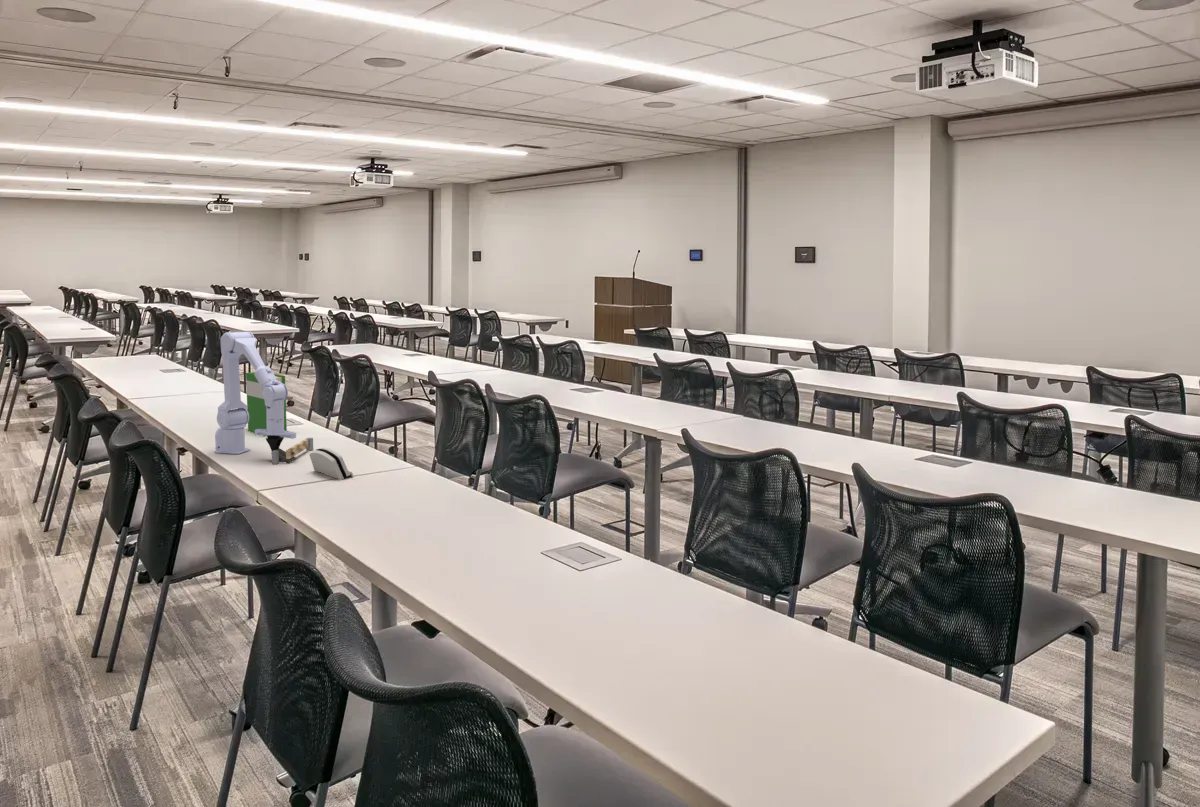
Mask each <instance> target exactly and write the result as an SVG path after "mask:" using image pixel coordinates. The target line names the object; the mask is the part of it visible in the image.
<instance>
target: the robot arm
mask: <svg viewBox="0 0 1200 807" xmlns="http://www.w3.org/2000/svg"><path fill="white" fill-rule="evenodd" d="M219 339H220V352H221V355H222V356H221V357H222V371H223V372H222V374H223V390H224V392H223V393H224V401H223V402H222V403H221V404H220V405H219V406H218V407H217V414H216V422H217V424H218V426H219V427H218V428H216V430H215V435H214V437H215V440H214V441H215V444H214V445H215V450H214V453H217V454H231V455H233V454H234V455H239V454H243V453H246V452H248V451H250V450H251V448H248V447H246V437H245V436H246V435H245V428H246V427H247V425H248V422H249V413H248V410H247V403H245V402H243V401H242V400H241V399H242V397H241V382H240V381H241V378H240V375H241V374H240V361H239V358H240V357H241V356H242V355H244V356H245V358H246V360H248V362H249V364H250V365H251V366H252V368H253V369H254V370H255V371H254V372H255V377H256V379H257V380H258V382H259V384H260V385H261V387H262V389H263V392H262V395H263V398H264V400H265V406H266V422H267V429H256V430H255V433H254V435H255V436H262V435H263V436H262V437H265V436H268V437H266V438H265V441H266V442H267V444H268V445H269V448H270V451H271V452H272V451H274V450H276V449H279V448H280V447H281V444H282V443H283V440H284V439H285V438H287V439H291V440H294V439H297V432H295V431H288V430H287V431H285V430H284V400H285V399H286V400H287V397H288V395H289V391H288V388H287V385H286V383H285V384H283V383H281V382H280V381H278V380H277V378H276V377H275V375H274V374H275V373H274V371H273V370H272V369H271V367H270V366H267V365H265V363H264V361H263V359H262V357H261V355H260V353H259V351H258V349H257V347H256V346H257V339H256V338H255V335H254V334H253V332H252V331H236V332H235V331H234V332H224V333H223V334H222V336H220V337H219Z"/></svg>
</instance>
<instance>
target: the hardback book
mask: <svg viewBox="0 0 1200 807" xmlns="http://www.w3.org/2000/svg"><path fill="white" fill-rule="evenodd" d="M274 375H275V377H276V378H277V380H278V381H280V382H281V383H283V384H285V385H286V375H283V374H277V373H274ZM245 381H246V382H245V385H246V386H245V388H246V405H247V410H248V413H249V422H248V423H247V431H248V432H249V431H250V432H249V433H252V432H253V434H255V430H256V429H267V422H266V406H265V400H264V398H263V395H262V392H263V389H262V387H261V385H260V384H259V382H258V380H257V379H256V377H255V371H253V372H245ZM286 400H287V398H286V399H285V400H284V430H285V431H288V428H287V427H288V426H287V401H286ZM266 438H268V436H267V437H266Z"/></svg>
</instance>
